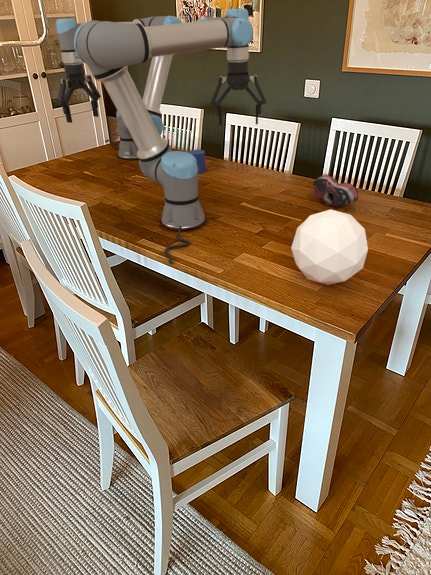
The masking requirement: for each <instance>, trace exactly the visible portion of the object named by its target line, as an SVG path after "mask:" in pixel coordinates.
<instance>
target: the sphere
mask: <svg viewBox="0 0 431 575" xmlns="http://www.w3.org/2000/svg"><path fill="white" fill-rule="evenodd" d="M290 250H291V252H292V255H293V259H294V263H295V265H296V267H297V268H298V269H299V270H300V272H301V273H302V274H303V275H304V276H305V277H306V279H307V280H309V281H311V282H315V283H319V284H323V285H327V286H329V285H335V284H339V283H343V282H346V281H348V280H349V279H351V278H352V277H353V276H354V275H356V274H357V273H358V272H360V271H361V270H363V269H364V265H365V262H366V259H367V254H368V251H369V248H368V241H367V233H366V228H364V226H363V225H362V224H361V223H360V222H359V221H357V219H355V217H354V216H353V215H352V214H350V213H347V212H346V213H345V212H342V211H339V210H334V209H331V208H330V209H327V210H324V211H321V212H317V213H313V214H310V215H309V216H307V218H305V220H304V221H303V222H302V223H301V224H300V225H299V226H298V227H297V228H296V230H295V234H294V237H293V241H292V244H291V249H290Z"/></svg>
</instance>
